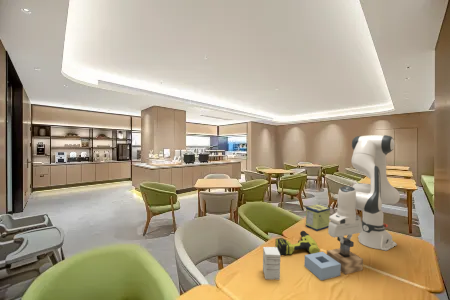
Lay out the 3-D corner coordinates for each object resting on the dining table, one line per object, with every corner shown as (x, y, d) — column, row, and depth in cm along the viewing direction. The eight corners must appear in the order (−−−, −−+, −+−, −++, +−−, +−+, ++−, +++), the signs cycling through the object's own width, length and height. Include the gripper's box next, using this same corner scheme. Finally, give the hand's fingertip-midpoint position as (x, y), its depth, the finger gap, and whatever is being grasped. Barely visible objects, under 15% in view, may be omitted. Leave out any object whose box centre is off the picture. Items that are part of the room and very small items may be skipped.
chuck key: (336, 259, 117) (336, 235, 116) (340, 258, 118) (341, 235, 117) (348, 267, 109) (349, 242, 108) (353, 266, 110) (354, 241, 109)
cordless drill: (270, 235, 147) (306, 236, 146) (278, 256, 122) (322, 258, 121) (271, 226, 146) (307, 227, 145) (279, 245, 121) (322, 246, 120)
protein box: (329, 227, 162) (330, 207, 162) (316, 231, 155) (317, 210, 154) (317, 222, 171) (318, 203, 171) (305, 226, 164) (305, 206, 163)
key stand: (343, 257, 121) (343, 247, 120) (362, 269, 109) (363, 258, 109) (326, 261, 117) (326, 250, 117) (344, 274, 106) (345, 262, 105)
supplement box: (262, 270, 109) (262, 246, 108) (276, 270, 108) (277, 246, 108) (264, 279, 101) (265, 254, 100) (280, 280, 101) (280, 254, 100)
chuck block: (322, 262, 116) (322, 251, 116) (340, 275, 105) (340, 264, 104) (304, 266, 112) (304, 255, 112) (321, 280, 101) (321, 268, 101)
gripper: (355, 212, 118) (354, 236, 119) (326, 217, 112) (325, 242, 112) (366, 217, 112) (364, 242, 113) (336, 221, 106) (335, 248, 106)
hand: (345, 242), depth 113 cm, fingers closed on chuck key, 2 cm apart
